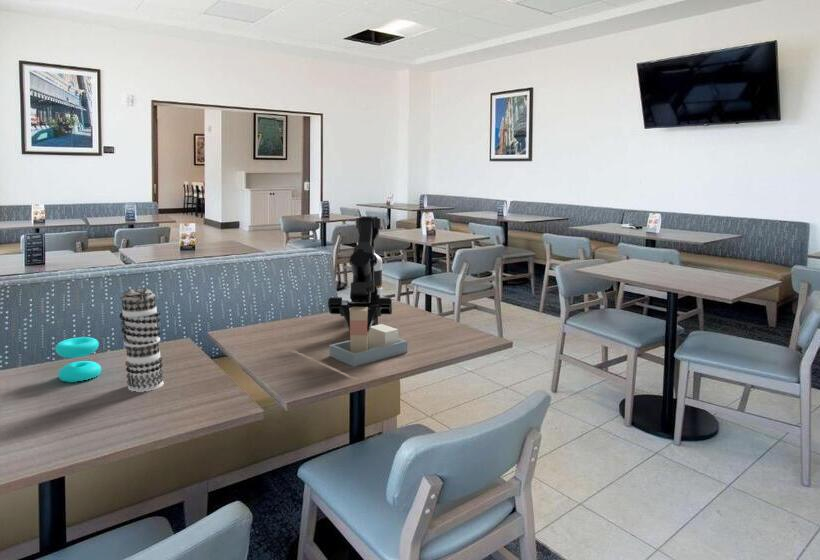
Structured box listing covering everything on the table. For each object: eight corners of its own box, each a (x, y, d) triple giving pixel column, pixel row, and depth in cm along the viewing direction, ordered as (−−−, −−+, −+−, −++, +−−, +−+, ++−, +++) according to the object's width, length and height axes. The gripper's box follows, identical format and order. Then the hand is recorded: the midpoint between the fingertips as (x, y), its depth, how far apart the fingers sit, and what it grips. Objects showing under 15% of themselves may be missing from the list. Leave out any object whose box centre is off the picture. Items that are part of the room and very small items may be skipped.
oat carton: (352, 349, 173) (351, 306, 171) (368, 349, 173) (368, 306, 171) (350, 354, 168) (349, 310, 166) (367, 354, 168) (366, 311, 166)
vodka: (383, 315, 221) (383, 237, 215) (359, 315, 220) (358, 237, 215) (383, 309, 230) (383, 234, 224) (360, 310, 229) (359, 234, 224)
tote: (382, 344, 184) (382, 332, 183) (407, 353, 175) (407, 341, 175) (329, 358, 171) (329, 345, 170) (353, 368, 162) (353, 354, 162)
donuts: (54, 339, 154) (96, 333, 160) (58, 375, 156) (99, 368, 161) (55, 349, 146) (100, 342, 151) (59, 386, 148) (103, 379, 153)
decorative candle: (151, 393, 143) (143, 295, 139) (118, 391, 145) (108, 293, 140) (172, 380, 152) (165, 287, 148) (140, 378, 154) (132, 286, 149)
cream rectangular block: (381, 345, 181) (381, 324, 180) (398, 351, 175) (398, 329, 174) (368, 348, 178) (368, 326, 177) (385, 355, 172) (385, 332, 171)
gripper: (328, 270, 170) (323, 316, 161) (391, 270, 170) (390, 317, 161) (332, 290, 179) (327, 335, 171) (392, 291, 179) (391, 336, 171)
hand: (358, 330), depth 168 cm, fingers closed on oat carton, 5 cm apart
